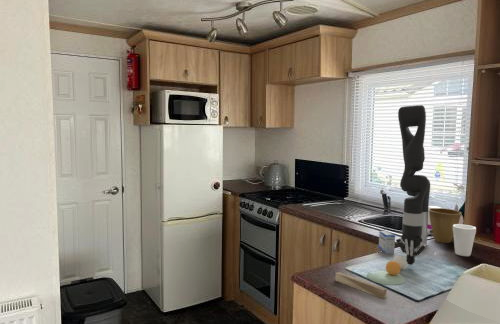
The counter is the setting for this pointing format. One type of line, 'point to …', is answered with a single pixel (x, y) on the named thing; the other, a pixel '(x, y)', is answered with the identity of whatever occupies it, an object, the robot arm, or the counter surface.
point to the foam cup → (463, 239)
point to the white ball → (401, 261)
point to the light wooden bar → (361, 285)
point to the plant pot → (443, 223)
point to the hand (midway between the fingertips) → (410, 264)
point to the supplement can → (429, 229)
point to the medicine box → (386, 242)
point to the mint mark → (386, 278)
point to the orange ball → (393, 268)
